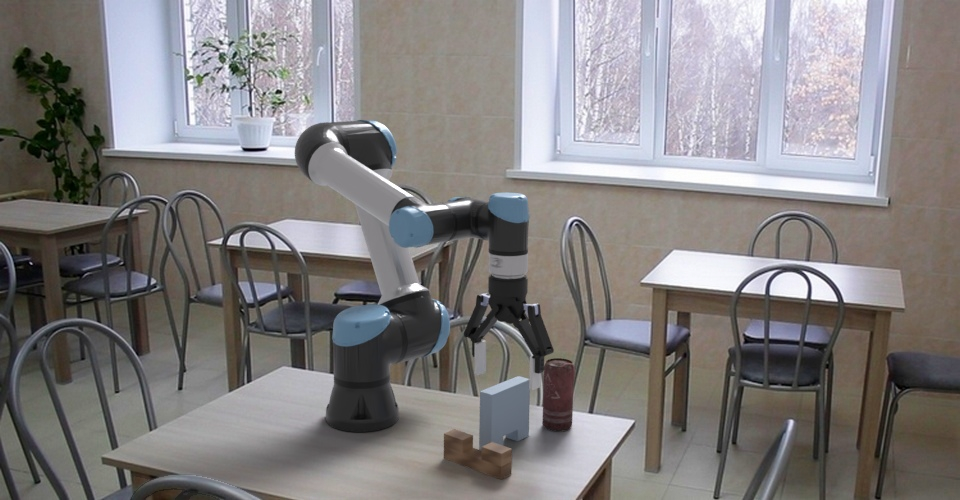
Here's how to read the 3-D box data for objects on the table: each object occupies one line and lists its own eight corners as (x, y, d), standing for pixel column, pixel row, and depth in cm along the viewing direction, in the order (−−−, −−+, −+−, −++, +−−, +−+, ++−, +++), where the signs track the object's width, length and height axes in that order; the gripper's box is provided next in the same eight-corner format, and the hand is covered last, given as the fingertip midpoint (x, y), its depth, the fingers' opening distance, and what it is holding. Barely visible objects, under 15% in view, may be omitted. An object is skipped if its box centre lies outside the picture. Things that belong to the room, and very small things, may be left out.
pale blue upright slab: (479, 449, 191) (480, 391, 188) (516, 432, 200) (518, 375, 197) (491, 454, 189) (492, 395, 186) (528, 435, 198) (530, 379, 195)
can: (571, 433, 199) (573, 367, 196) (540, 430, 201) (542, 365, 198) (574, 422, 205) (577, 358, 202) (544, 419, 206) (546, 356, 204)
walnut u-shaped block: (443, 458, 187) (443, 433, 186) (454, 453, 189) (454, 428, 188) (501, 479, 178) (501, 453, 177) (511, 474, 180) (511, 448, 179)
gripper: (446, 268, 192) (446, 372, 196) (549, 287, 176) (547, 400, 181) (471, 262, 198) (470, 363, 202) (573, 280, 182) (570, 389, 186)
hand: (507, 380), depth 191 cm, fingers open, 13 cm apart
